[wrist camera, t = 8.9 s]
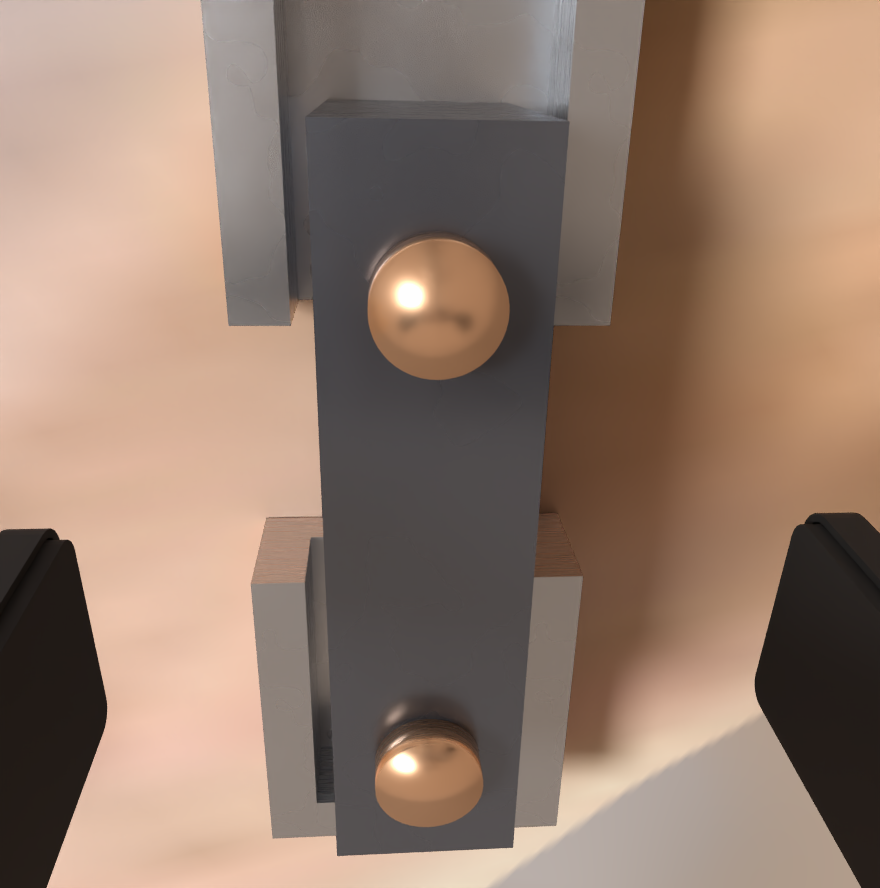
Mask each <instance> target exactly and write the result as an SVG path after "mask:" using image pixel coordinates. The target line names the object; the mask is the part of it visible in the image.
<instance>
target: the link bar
mask: <svg viewBox="0 0 880 888" xmlns="http://www.w3.org/2000/svg"><path fill="white" fill-rule="evenodd" d="M569 124H570V121H566V120H563V119H560V118H556V117H553V116H550V115H546V114H543V113H540V112H536V111H533V110H530V109H527V108H523V107H520V106H517V105H513V104H510V103H506V102H452V101H398V100H344V99H327V100H326V101H325V102H323V103H322V104H321V105H320V106H318V107H317V108H316V109H315V110H313V111H312V112H311V113H310V114H308V115H307V116H306V117H305V126H306V149H307V172H308V195H309V218H310V241H311V264H312V287H313V310H314V333H315V356H316V379H317V403H318V426H319V449H320V472H321V495H322V518H323V541H324V564H325V587H326V610H327V633H328V656H329V679H330V702H331V725H332V748H333V771H334V794H335V817H336V840H337V856H347V855H368V854H389V853H410V852H431V851H452V850H473V849H494V848H513V840H514V827H515V814H516V801H517V789H518V776H519V763H520V750H521V737H522V725H523V712H524V699H525V686H526V673H527V661H528V648H529V635H530V622H531V610H532V597H533V584H534V571H535V558H536V546H537V533H538V520H539V507H540V494H541V482H542V469H543V456H544V443H545V430H546V418H547V405H548V392H549V379H550V367H551V354H552V341H553V328H554V315H555V303H556V290H557V277H558V264H559V251H560V239H561V226H562V213H563V200H564V187H565V175H566V162H567V149H568V136H569Z"/></svg>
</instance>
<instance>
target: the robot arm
mask: <svg viewBox="0 0 880 888" xmlns="http://www.w3.org/2000/svg"><path fill="white" fill-rule="evenodd" d="M755 692H756V697H757V700H758V703H759V705H760V707H761V709H762V711H763V713H764V714H765V716H766V718H767V720H768V722H769V723H770V725H771V727H772V728H773V730H774V732H775V734H776V736H777V737H778V739H779V741H780V743H781V745H782V747H783V748H784V750H785V752H786V753H787V755H788V757H789V759H790V761H791V762H792V764H793V766H794V768H795V770H796V772H797V773H798V775H799V777H800V779H801V780H802V782H803V784H804V786H805V788H806V790H807V791H808V793H809V795H810V797H811V798H812V800H813V802H814V804H815V805H816V807H817V809H818V811H819V813H820V815H821V816H822V818H823V820H824V821H825V823H826V825H827V827H828V829H829V831H830V832H831V834H832V836H833V837H834V840H835V841H836V843H837V845H838V847H839V848H840V850H841V852H842V854H843V856H844V858H845V859H846V861H847V863H848V865H849V866H850V868H851V870H852V872H853V874H854V875H855V877H856V879H857V881H858V882H859V884H860V886H861V888H880V533H879V532H878V531H877V530H876V529H875V528H874V527H873V526H872V525H871V524H870V523H869V522H868V521H867V520H866V519H865V518H864V517H863V516H861V515H860V514H859V513H814V514H812V515H810V516H809V517H808V519H807V520H806V522H805V524H800V525H798V526H797V527H796V528H795V529H794V531H793V534H792V537H791V541H790V545H789V549H788V552H787V556H786V560H785V564H784V568H783V572H782V575H781V579H780V583H779V587H778V591H777V595H776V599H775V602H774V606H773V610H772V614H771V618H770V622H769V625H768V629H767V633H766V637H765V641H764V645H763V648H762V652H761V656H760V660H759V664H758V668H757V672H756V676H755ZM106 718H107V700H106V695H105V690H104V685H103V681H102V676H101V671H100V666H99V662H98V657H97V652H96V648H95V643H94V638H93V633H92V629H91V624H90V619H89V615H88V610H87V605H86V600H85V596H84V591H83V586H82V582H81V577H80V572H79V567H78V563H77V558H76V553H75V549H74V546H73V544H72V542H71V541H69V540H59V537H58V535H57V533H56V532H55V530H53V529H7V530H3V531H1V532H0V888H46V887H47V885H48V882H49V879H50V877H51V874H52V871H53V868H54V866H55V863H56V860H57V857H58V855H59V852H60V849H61V846H62V844H63V841H64V838H65V836H66V833H67V830H68V827H69V825H70V822H71V819H72V816H73V814H74V811H75V808H76V805H77V803H78V800H79V797H80V795H81V792H82V789H83V786H84V784H85V781H86V778H87V775H88V773H89V770H90V767H91V764H92V762H93V759H94V756H95V754H96V751H97V748H98V745H99V743H100V740H101V737H102V734H103V732H104V728H105V724H106Z"/></svg>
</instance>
